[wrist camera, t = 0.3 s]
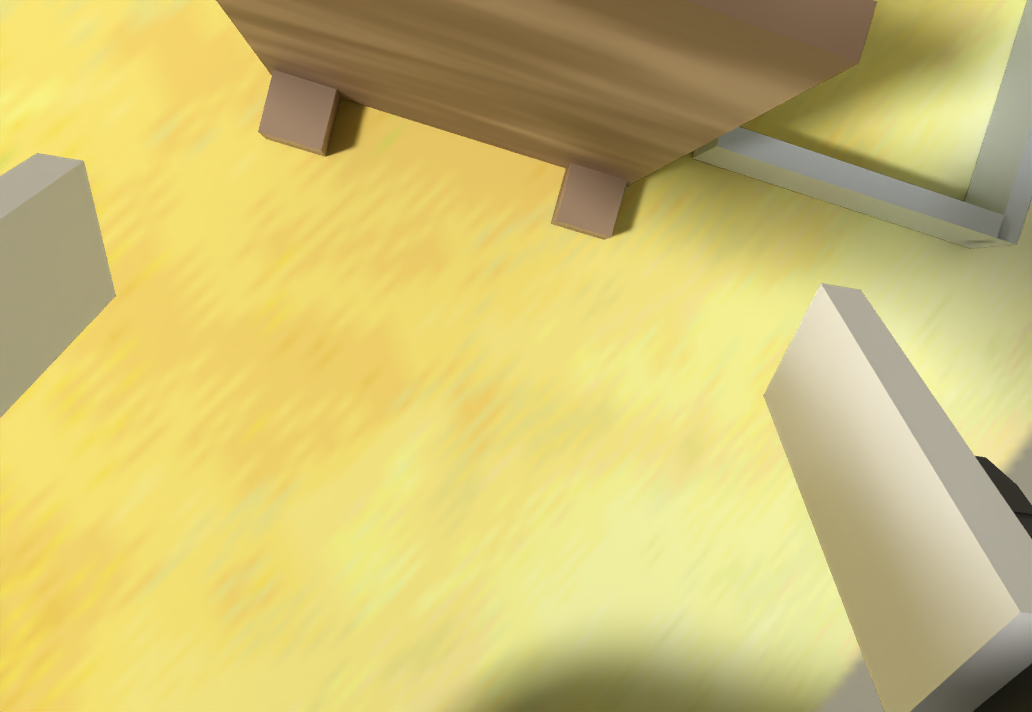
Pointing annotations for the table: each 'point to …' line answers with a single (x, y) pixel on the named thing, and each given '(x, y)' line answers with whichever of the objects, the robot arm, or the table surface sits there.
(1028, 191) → the corral
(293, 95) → the screen
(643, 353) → the table surface
